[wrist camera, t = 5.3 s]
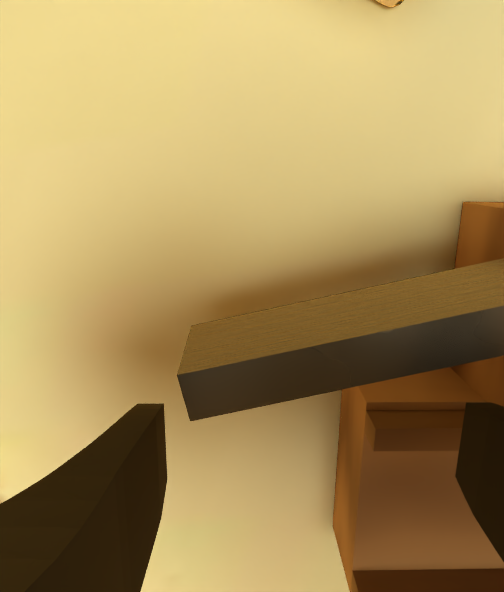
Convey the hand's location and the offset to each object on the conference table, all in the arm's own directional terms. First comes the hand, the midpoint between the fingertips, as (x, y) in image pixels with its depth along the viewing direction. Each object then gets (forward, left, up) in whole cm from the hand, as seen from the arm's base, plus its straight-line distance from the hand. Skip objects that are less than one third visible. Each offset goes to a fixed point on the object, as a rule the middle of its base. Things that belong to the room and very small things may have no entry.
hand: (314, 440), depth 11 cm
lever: (+3, -2, -1) cm, 4 cm away
